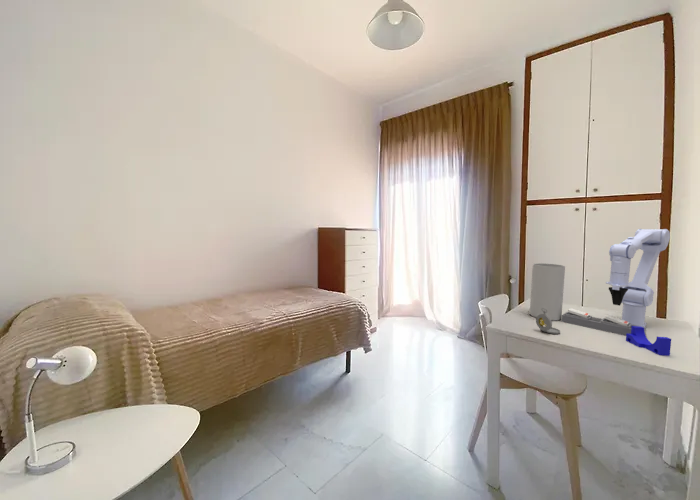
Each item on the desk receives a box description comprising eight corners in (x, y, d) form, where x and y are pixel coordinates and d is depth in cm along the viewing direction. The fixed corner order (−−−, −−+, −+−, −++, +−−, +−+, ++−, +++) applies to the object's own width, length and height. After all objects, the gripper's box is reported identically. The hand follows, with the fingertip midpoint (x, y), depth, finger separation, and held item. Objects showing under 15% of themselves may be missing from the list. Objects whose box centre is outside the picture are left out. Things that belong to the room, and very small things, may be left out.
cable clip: (625, 341, 107) (627, 325, 106) (639, 342, 106) (640, 326, 106) (653, 355, 95) (655, 338, 95) (669, 356, 94) (671, 339, 94)
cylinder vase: (523, 314, 138) (526, 264, 136) (539, 311, 143) (542, 262, 141) (551, 322, 126) (554, 267, 124) (567, 319, 132) (571, 266, 130)
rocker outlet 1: (569, 310, 131) (570, 307, 130) (588, 317, 125) (589, 313, 125) (567, 312, 128) (568, 309, 127) (586, 319, 123) (587, 315, 122)
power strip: (566, 318, 133) (567, 310, 133) (645, 334, 113) (646, 325, 113) (561, 321, 128) (562, 313, 128) (643, 339, 108) (644, 330, 108)
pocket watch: (561, 331, 116) (562, 307, 115) (558, 337, 110) (560, 312, 109) (537, 326, 121) (539, 303, 120) (533, 331, 115) (535, 308, 114)
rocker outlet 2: (605, 317, 121) (607, 313, 121) (627, 325, 116) (629, 321, 115) (603, 319, 118) (605, 315, 118) (626, 327, 113) (627, 324, 113)
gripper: (610, 270, 125) (607, 300, 126) (603, 273, 116) (600, 305, 117) (632, 272, 120) (629, 303, 121) (627, 275, 110) (624, 309, 112)
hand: (616, 304), depth 118 cm, fingers closed
